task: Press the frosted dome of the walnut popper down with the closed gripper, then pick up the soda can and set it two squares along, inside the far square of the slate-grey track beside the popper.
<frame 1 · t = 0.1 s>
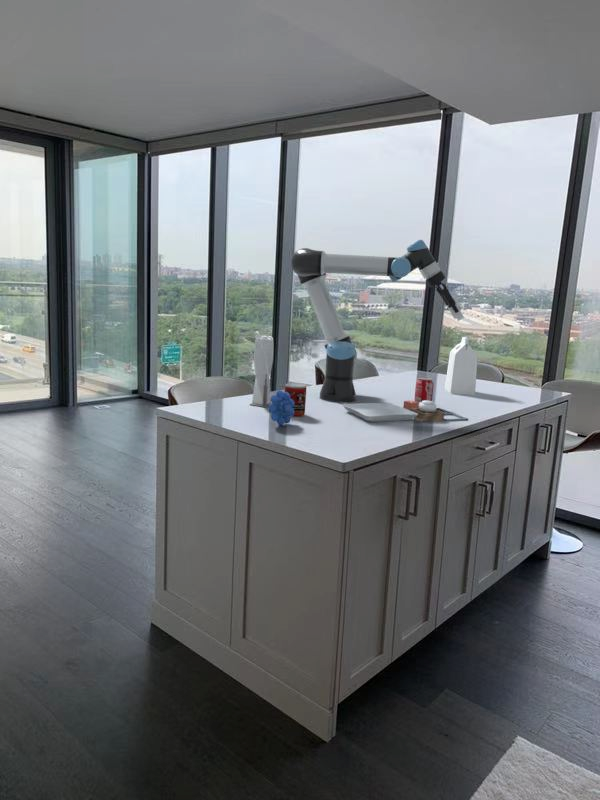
hand: (459, 318, 258), 36 cm above the table, tool tilted 35°, fingers open, 13 cm apart
soda can: (422, 407, 250), on the table
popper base: (426, 418, 229), on the table
die: (410, 411, 240), on the table
canned food: (294, 414, 223), on the table
track: (441, 414, 237), on the table
salad plate: (378, 417, 228), on the table
grapes: (282, 426, 205), on the table
skyscraper: (261, 405, 237), on the table
milk: (459, 392, 291), on the table
dome: (427, 405, 228), point 5 cm above the table, slide at 0.0 cm
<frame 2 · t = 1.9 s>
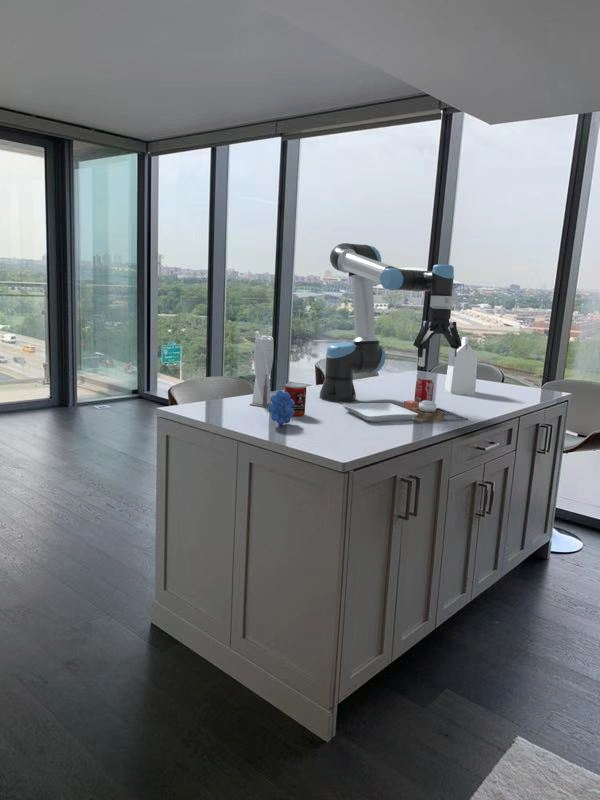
hand: (436, 366, 227), 20 cm above the table, tool pointing down, fingers open, 13 cm apart
nothing on the table moved.
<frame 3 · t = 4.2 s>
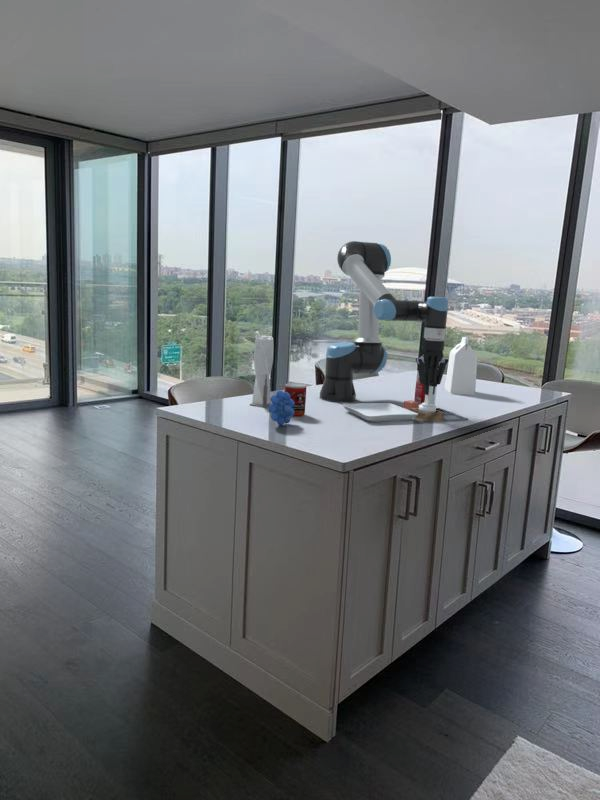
hand: (428, 403, 228), 6 cm above the table, tool pointing down, fingers closed
dome: (427, 408, 228), point 4 cm above the table, slide at 0.8 cm, touching gripper
everything else where it was.
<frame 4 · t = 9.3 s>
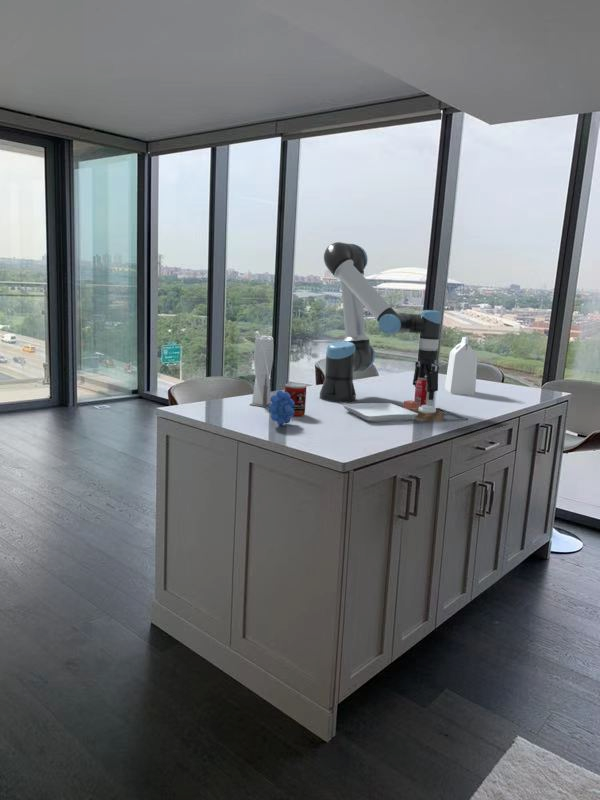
hand: (423, 405, 249), 1 cm above the table, tool pointing down, fingers open, 8 cm apart
soda can: (422, 407, 250), on the table, touching gripper
dome: (427, 410, 229), point 3 cm above the table, slide at 1.7 cm
everything else where it was.
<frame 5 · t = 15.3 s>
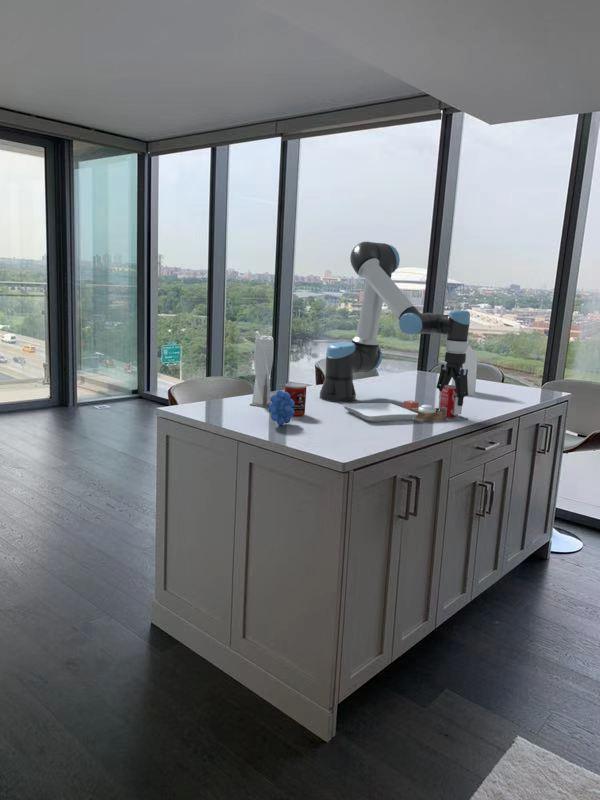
hand: (449, 410, 232), 3 cm above the table, tool pointing down, fingers open, 9 cm apart
soda can: (448, 417, 233), resting in track
everything else where it was.
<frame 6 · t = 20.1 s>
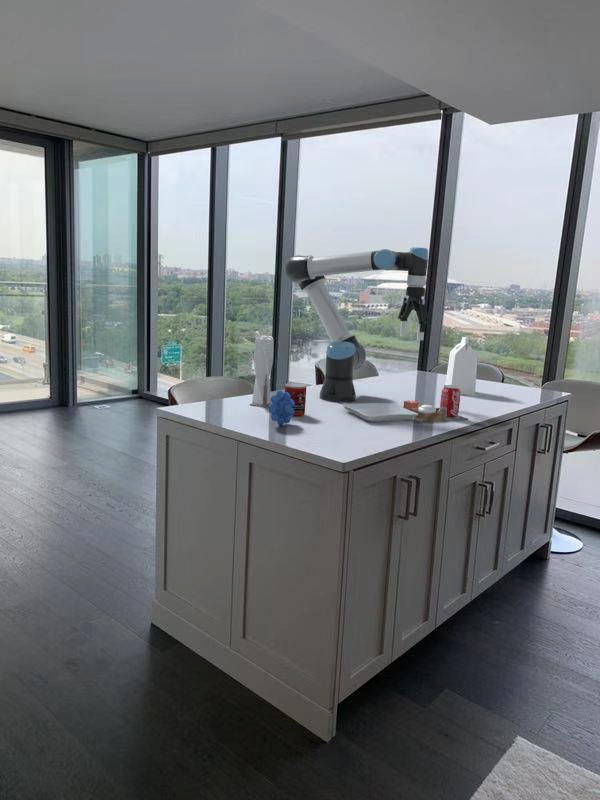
hand: (411, 338, 255), 27 cm above the table, tool pointing down, fingers open, 13 cm apart
nothing on the table moved.
at the end: dome slide at 1.7 cm; soda can inside the target area (0.3 cm from its centre), resting in track; soda can tilted 0° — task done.
